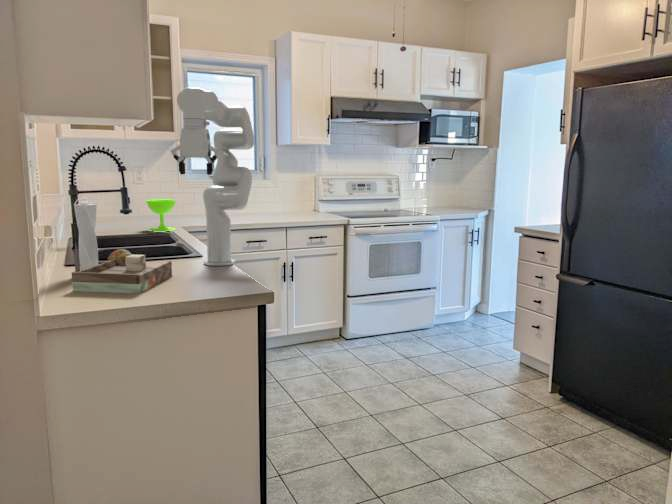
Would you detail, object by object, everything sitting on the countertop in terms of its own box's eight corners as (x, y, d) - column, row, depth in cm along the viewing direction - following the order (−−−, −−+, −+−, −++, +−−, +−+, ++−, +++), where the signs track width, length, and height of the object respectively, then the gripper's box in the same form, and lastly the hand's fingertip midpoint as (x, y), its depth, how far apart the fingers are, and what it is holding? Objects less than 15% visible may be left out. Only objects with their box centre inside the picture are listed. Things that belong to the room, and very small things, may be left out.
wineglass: (179, 231, 311) (178, 200, 308) (151, 233, 303) (150, 201, 300) (172, 228, 325) (171, 199, 322) (145, 230, 316) (143, 199, 313)
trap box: (113, 274, 194) (112, 258, 193) (172, 276, 192) (171, 259, 191) (72, 291, 169) (71, 272, 168) (139, 293, 167) (138, 274, 166)
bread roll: (135, 274, 212) (142, 255, 213) (111, 266, 205) (119, 247, 206) (123, 270, 219) (130, 252, 220) (100, 263, 211) (107, 244, 212)
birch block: (132, 268, 190) (131, 254, 190) (146, 268, 190) (145, 254, 189) (125, 270, 186) (125, 256, 185) (139, 271, 185) (138, 257, 184)
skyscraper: (77, 272, 195) (72, 196, 191) (101, 271, 198) (97, 196, 194) (75, 277, 188) (69, 198, 183) (100, 276, 190) (95, 198, 186)
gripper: (222, 125, 188) (223, 174, 190) (174, 125, 189) (176, 173, 192) (215, 124, 180) (216, 175, 183) (166, 123, 181) (168, 174, 184)
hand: (196, 174), depth 187 cm, fingers open, 9 cm apart
